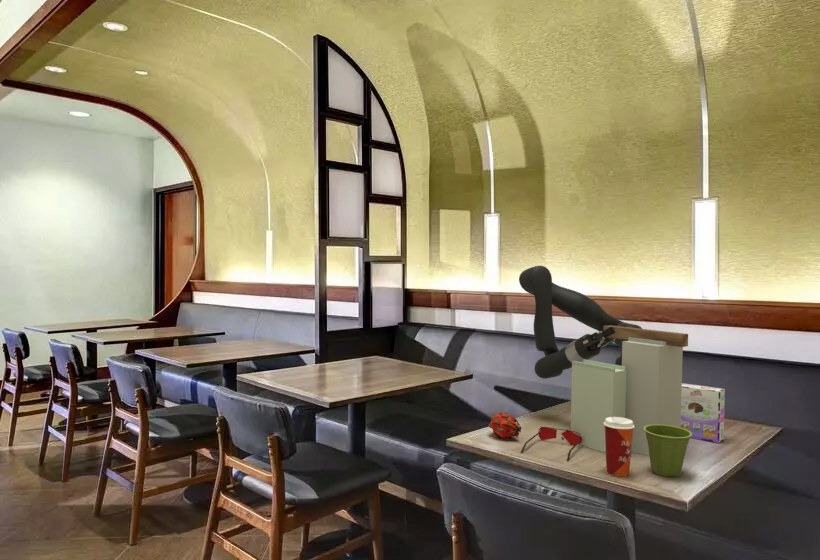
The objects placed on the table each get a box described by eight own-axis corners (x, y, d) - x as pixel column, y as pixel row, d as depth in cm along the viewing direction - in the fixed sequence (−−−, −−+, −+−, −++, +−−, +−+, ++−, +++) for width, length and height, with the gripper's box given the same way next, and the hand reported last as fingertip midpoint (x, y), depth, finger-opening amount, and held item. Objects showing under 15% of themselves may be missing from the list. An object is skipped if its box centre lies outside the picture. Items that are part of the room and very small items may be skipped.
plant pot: (641, 476, 153) (642, 433, 153) (643, 462, 164) (644, 422, 164) (691, 483, 149) (692, 439, 148) (690, 469, 159) (691, 427, 159)
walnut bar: (610, 336, 189) (610, 325, 189) (687, 346, 168) (688, 333, 168) (603, 336, 187) (603, 325, 187) (681, 347, 166) (681, 334, 166)
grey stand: (643, 441, 184) (646, 335, 183) (679, 451, 174) (682, 340, 173) (619, 447, 177) (622, 338, 176) (656, 458, 168) (659, 342, 167)
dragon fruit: (491, 436, 192) (518, 451, 183) (477, 425, 187) (504, 440, 178) (505, 414, 194) (532, 428, 185) (492, 402, 189) (519, 416, 180)
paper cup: (629, 480, 151) (631, 425, 150) (599, 474, 155) (600, 420, 154) (636, 471, 157) (637, 418, 157) (606, 465, 161) (607, 414, 161)
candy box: (724, 440, 187) (726, 388, 186) (718, 444, 183) (720, 391, 182) (679, 431, 196) (680, 381, 196) (672, 434, 192) (674, 384, 191)
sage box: (583, 438, 186) (584, 359, 185) (624, 451, 174) (626, 366, 173) (570, 441, 183) (572, 361, 182) (611, 454, 170) (613, 368, 170)
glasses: (583, 447, 178) (583, 431, 178) (568, 463, 164) (568, 445, 164) (538, 440, 185) (538, 424, 185) (520, 454, 171) (520, 437, 171)
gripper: (563, 340, 193) (601, 318, 181) (592, 337, 202) (629, 316, 189) (572, 361, 190) (611, 341, 178) (600, 358, 199) (639, 338, 187)
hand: (620, 328), depth 184 cm, fingers open, 6 cm apart
